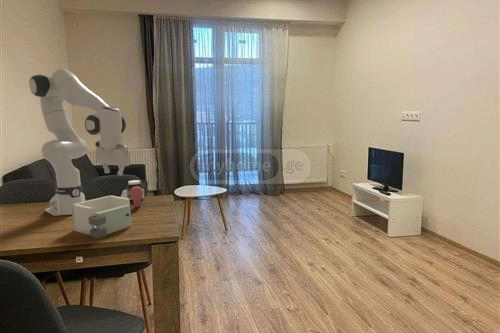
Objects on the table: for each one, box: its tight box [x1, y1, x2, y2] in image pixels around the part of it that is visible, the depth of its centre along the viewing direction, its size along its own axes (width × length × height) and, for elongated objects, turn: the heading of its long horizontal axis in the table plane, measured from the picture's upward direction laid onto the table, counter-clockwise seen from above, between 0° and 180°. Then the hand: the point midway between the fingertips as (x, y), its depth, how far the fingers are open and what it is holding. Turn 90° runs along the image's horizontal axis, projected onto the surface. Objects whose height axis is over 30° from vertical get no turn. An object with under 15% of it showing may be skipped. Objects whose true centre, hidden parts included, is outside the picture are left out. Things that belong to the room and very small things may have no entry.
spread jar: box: [120, 179, 145, 202], centre depth 207 cm, size 12×11×12 cm
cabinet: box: [71, 195, 131, 239], centre depth 156 cm, size 19×21×12 cm
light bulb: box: [130, 186, 144, 208], centre depth 191 cm, size 7×7×12 cm
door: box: [95, 204, 132, 235], centre depth 153 cm, size 3×16×10 cm, turn 147°
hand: (113, 174), depth 155 cm, fingers open, 8 cm apart
